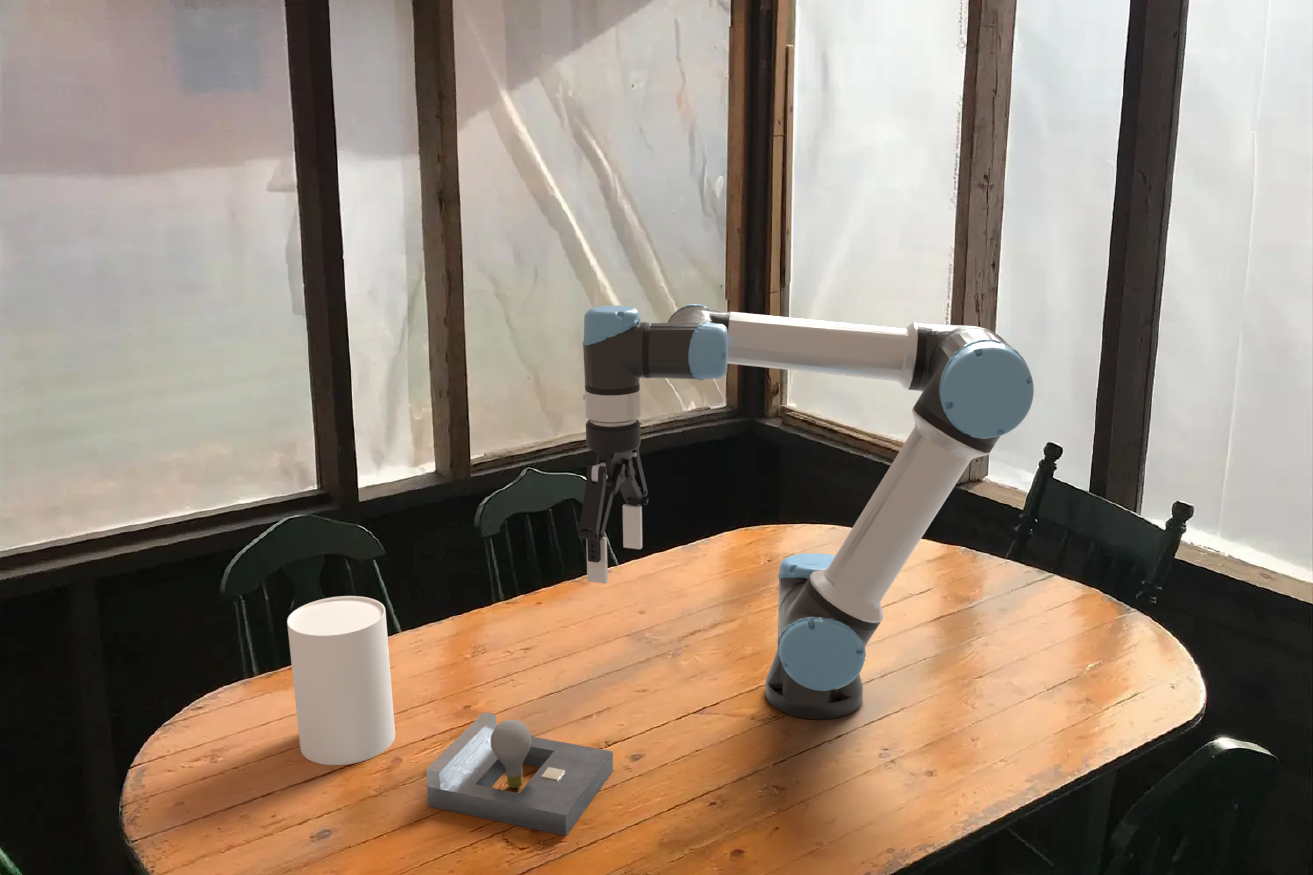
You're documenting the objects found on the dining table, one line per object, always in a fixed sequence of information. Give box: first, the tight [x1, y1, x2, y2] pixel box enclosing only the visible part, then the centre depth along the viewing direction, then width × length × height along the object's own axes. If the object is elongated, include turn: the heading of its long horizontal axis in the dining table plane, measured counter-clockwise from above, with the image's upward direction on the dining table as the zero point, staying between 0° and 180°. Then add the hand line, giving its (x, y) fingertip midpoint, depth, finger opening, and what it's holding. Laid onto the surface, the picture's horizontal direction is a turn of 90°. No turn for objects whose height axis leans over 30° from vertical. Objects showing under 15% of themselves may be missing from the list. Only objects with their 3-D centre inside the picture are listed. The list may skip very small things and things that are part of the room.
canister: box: [286, 595, 396, 766], centre depth 166 cm, size 14×14×20 cm
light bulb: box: [491, 719, 532, 789], centre depth 154 cm, size 6×5×10 cm
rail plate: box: [425, 711, 614, 837], centre depth 155 cm, size 20×16×6 cm
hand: (615, 564), depth 163 cm, fingers open, 13 cm apart
